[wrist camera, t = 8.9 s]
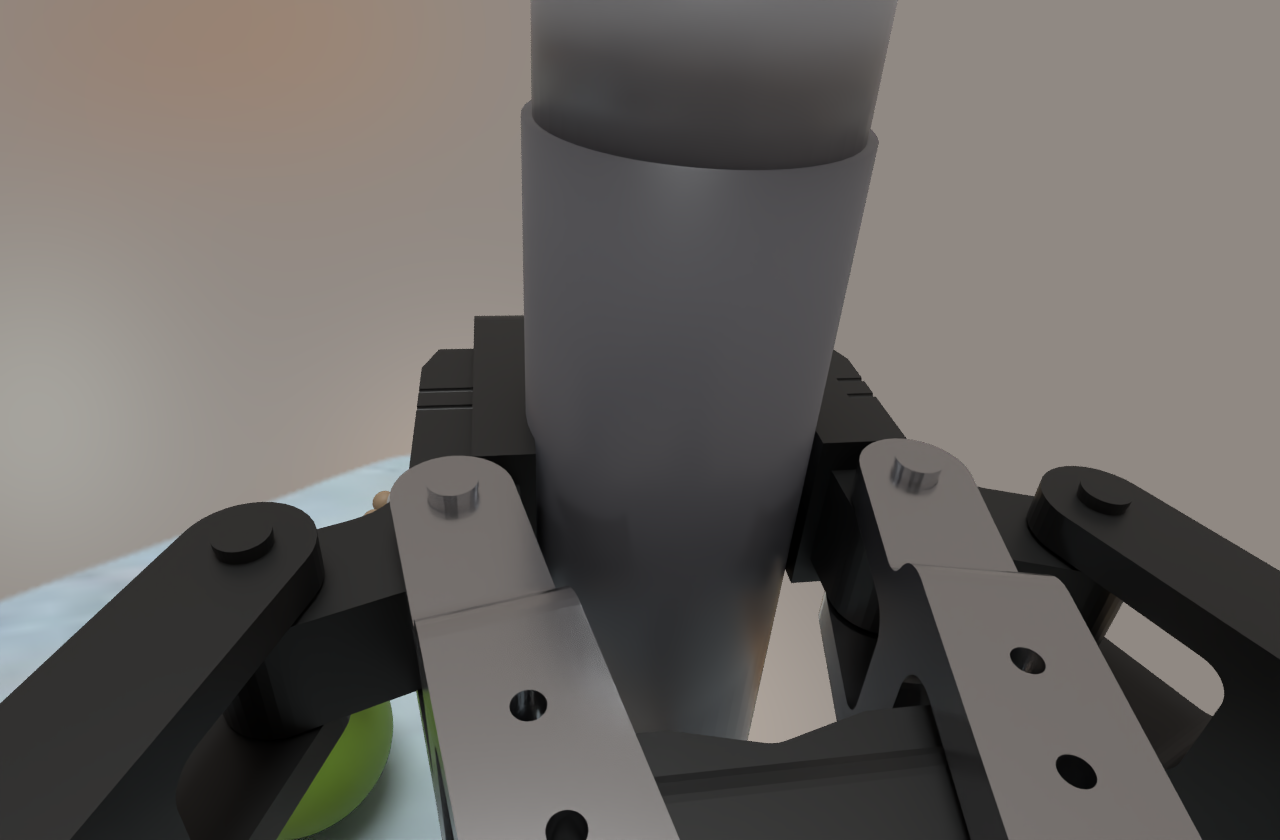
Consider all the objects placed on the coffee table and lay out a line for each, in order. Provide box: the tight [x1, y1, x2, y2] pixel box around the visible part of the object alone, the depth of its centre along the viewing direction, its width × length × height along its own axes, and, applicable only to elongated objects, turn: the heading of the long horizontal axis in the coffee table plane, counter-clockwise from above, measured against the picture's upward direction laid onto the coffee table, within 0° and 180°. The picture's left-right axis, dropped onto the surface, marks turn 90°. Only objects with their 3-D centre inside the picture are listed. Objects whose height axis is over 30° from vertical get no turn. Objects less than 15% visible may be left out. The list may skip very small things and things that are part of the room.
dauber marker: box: [521, 0, 898, 741], centre depth 11 cm, size 3×3×13 cm
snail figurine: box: [276, 491, 393, 840], centre depth 22 cm, size 5×6×12 cm
